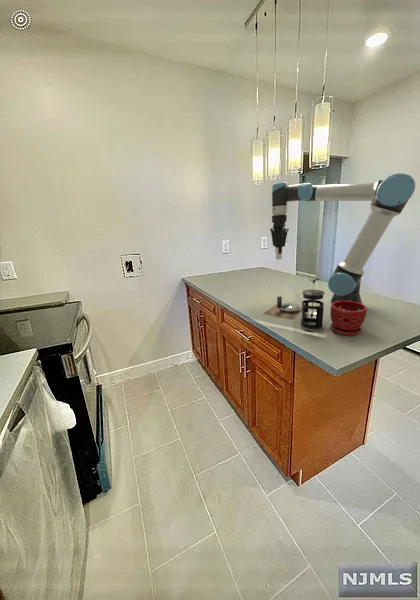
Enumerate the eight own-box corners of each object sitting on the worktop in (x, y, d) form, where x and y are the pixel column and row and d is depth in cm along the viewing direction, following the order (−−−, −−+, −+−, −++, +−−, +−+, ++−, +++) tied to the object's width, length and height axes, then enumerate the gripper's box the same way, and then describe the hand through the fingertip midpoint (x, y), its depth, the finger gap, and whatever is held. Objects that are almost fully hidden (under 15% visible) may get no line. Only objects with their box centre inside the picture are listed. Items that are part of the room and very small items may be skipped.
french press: (295, 324, 117) (297, 277, 110) (313, 321, 118) (316, 274, 111) (310, 335, 106) (313, 283, 99) (329, 331, 107) (334, 280, 100)
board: (306, 310, 133) (306, 307, 133) (292, 322, 119) (293, 319, 119) (278, 305, 143) (278, 303, 142) (262, 316, 129) (262, 313, 129)
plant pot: (323, 331, 108) (325, 305, 105) (338, 322, 116) (340, 298, 112) (354, 341, 98) (358, 313, 95) (368, 331, 106) (372, 304, 102)
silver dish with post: (291, 305, 138) (291, 291, 135) (303, 310, 129) (304, 295, 126) (271, 309, 134) (271, 295, 131) (283, 315, 125) (283, 300, 122)
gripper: (266, 215, 135) (266, 258, 142) (281, 214, 124) (280, 261, 131) (277, 214, 138) (276, 257, 145) (293, 213, 126) (292, 259, 134)
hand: (278, 259), depth 138 cm, fingers closed
